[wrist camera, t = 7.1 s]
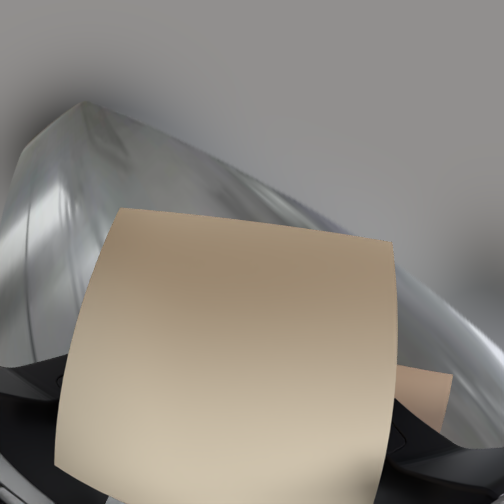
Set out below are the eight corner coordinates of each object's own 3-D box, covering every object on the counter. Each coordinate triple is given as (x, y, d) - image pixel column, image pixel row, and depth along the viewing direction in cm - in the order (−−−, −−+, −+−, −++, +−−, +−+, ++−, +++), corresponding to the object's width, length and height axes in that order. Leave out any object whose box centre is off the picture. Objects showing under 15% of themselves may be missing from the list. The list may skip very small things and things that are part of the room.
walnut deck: (398, 478, 11) (419, 488, 9) (310, 472, 12) (321, 487, 10) (428, 378, 15) (453, 374, 12) (347, 362, 16) (365, 357, 13)
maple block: (284, 432, 11) (363, 530, 2) (190, 417, 11) (54, 464, 2) (297, 345, 13) (392, 242, 4) (207, 332, 13) (119, 207, 4)
